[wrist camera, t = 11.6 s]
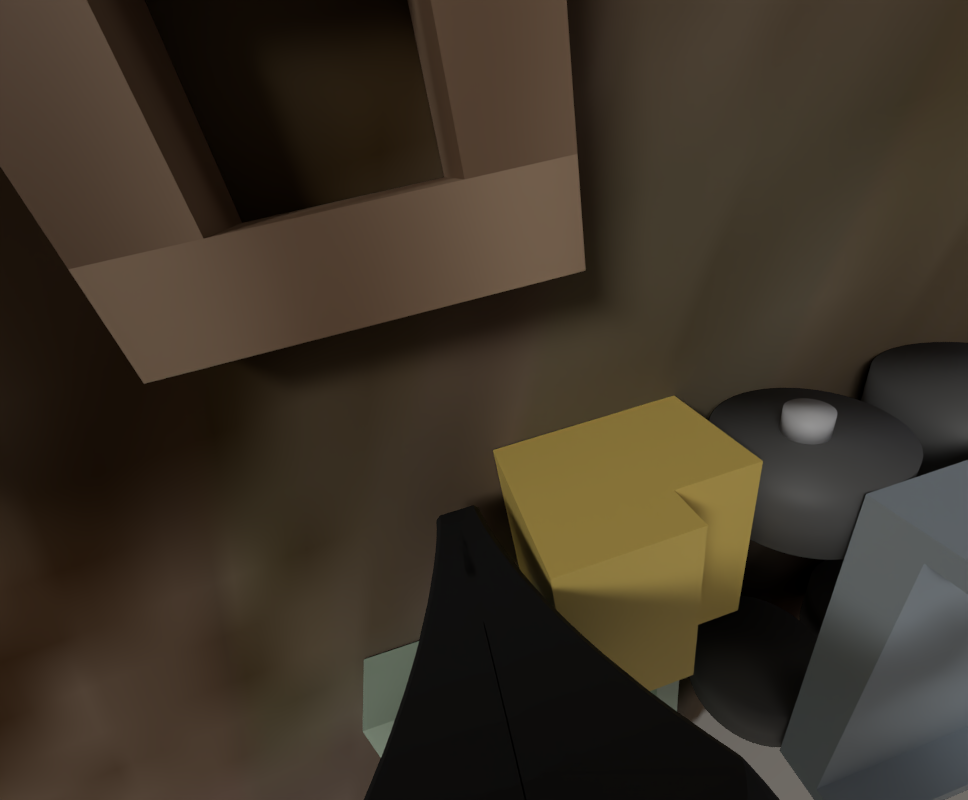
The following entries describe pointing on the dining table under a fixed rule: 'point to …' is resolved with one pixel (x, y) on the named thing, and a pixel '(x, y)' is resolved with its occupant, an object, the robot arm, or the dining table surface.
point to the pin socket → (298, 234)
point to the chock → (634, 529)
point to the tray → (389, 683)
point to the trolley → (856, 583)
